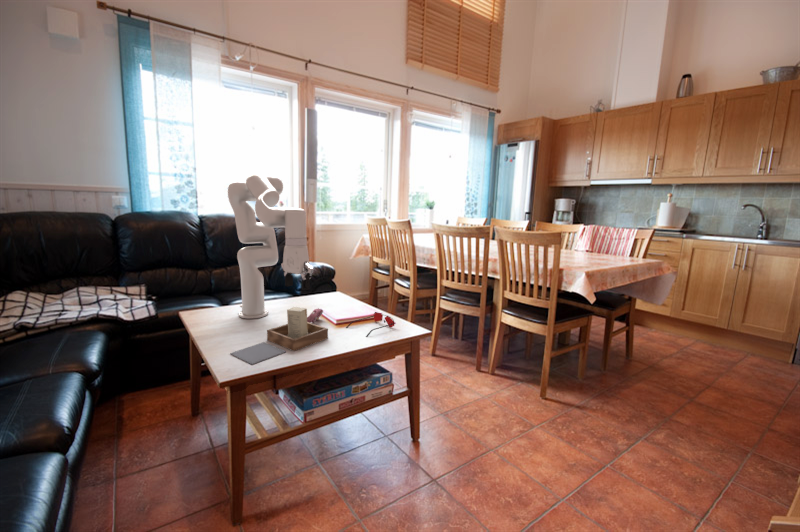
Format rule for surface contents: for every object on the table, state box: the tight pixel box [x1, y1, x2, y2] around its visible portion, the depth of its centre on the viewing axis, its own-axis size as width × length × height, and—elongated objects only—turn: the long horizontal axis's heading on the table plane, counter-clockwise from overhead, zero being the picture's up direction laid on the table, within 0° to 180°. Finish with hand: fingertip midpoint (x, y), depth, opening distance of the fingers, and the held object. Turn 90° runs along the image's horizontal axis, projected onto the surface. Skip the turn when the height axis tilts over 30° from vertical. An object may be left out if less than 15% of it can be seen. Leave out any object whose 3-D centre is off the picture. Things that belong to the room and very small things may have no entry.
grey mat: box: [230, 341, 286, 366], centre depth 126 cm, size 13×13×1 cm
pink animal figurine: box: [307, 307, 324, 324], centre depth 160 cm, size 10×5×7 cm, turn 169°
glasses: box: [345, 311, 397, 338], centre depth 154 cm, size 14×16×5 cm
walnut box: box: [266, 322, 329, 352], centre depth 140 cm, size 16×16×4 cm
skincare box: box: [286, 306, 309, 339], centre depth 139 cm, size 6×4×12 cm
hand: (297, 287), depth 136 cm, fingers open, 9 cm apart
